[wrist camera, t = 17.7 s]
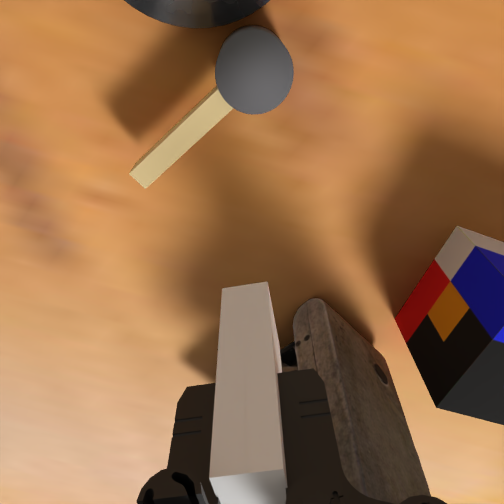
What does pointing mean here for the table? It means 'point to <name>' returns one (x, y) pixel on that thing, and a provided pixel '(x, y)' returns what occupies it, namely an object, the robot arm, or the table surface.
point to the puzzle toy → (460, 326)
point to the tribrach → (197, 11)
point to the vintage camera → (358, 404)
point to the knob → (226, 95)
